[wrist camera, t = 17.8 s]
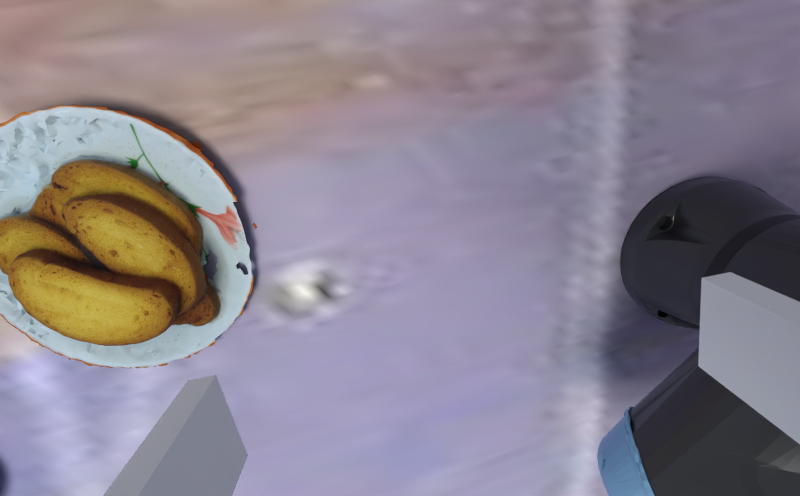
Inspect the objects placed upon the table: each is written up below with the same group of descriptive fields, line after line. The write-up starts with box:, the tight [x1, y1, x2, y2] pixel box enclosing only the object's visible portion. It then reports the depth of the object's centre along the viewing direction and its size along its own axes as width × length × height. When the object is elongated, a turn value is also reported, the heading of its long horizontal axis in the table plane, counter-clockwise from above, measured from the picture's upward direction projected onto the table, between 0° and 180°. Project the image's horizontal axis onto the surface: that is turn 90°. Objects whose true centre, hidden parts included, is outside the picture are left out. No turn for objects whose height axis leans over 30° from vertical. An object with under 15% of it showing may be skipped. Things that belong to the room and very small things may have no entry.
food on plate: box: [0, 105, 257, 368], centre depth 36 cm, size 25×25×7 cm
